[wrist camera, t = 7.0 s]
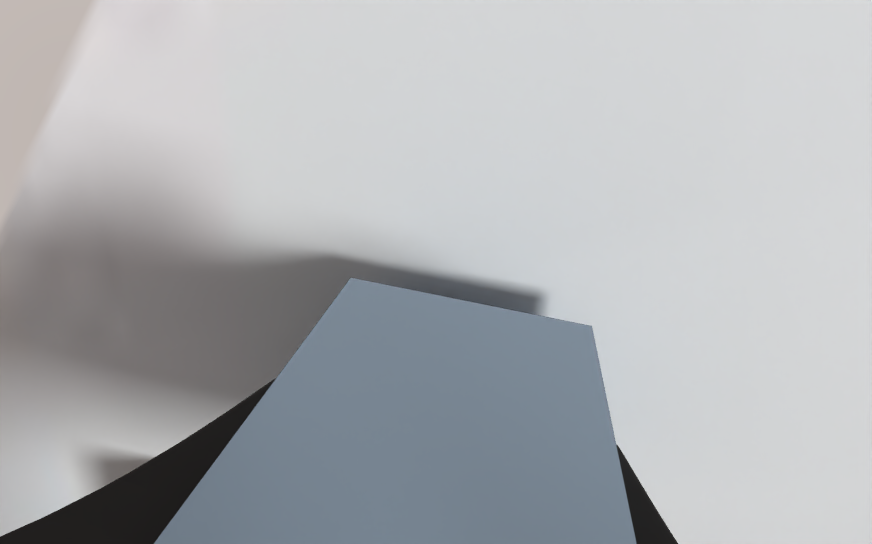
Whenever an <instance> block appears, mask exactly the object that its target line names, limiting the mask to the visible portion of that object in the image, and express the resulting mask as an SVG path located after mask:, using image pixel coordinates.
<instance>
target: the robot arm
mask: <svg viewBox="0 0 872 544" xmlns="http://www.w3.org/2000/svg"><path fill="white" fill-rule="evenodd" d="M274 381H275V379H274V380H273V381H271V382H270V383H268V384H267V385H265V386H264V387H262V388H261V389H259V390H258V391H256V392H255V393H254V394H252V395H251V396H249V397H248V398H246V399H245V400H243V401H242V402H241V403H239V404H238V405H236V406H235V407H233V408H232V409H230V410H229V411H227V412H226V413H224V414H223V415H221V416H220V417H218V418H217V419H215V420H214V421H212V422H211V423H209V424H208V425H206V426H205V427H203V428H201V429H200V430H198V431H197V432H195V433H194V434H192V435H191V436H189V437H188V438H186V439H185V440H183V441H181V442H180V443H178V444H177V445H175V446H173V447H172V448H170V449H168V450H167V451H165V452H163V453H162V454H160V455H158V456H157V457H155V458H153V459H152V460H150V461H148V462H146V463H145V464H143V465H141V466H140V467H138V468H136V469H135V470H133V471H131V472H130V473H128V474H126V475H124V476H122V477H121V478H119V479H117V480H115V481H114V482H112V483H110V484H108V485H106V486H104V487H103V488H101V489H99V490H97V491H95V492H93V493H91V494H89V495H87V496H85V497H83V498H81V499H79V500H77V501H75V502H73V503H71V504H69V505H67V506H65V507H64V508H62V509H60V510H58V511H55V512H53V513H51V514H49V515H47V516H45V517H43V518H41V519H39V520H37V521H34V522H32V523H30V524H28V525H25V526H23V527H21V528H19V529H16V530H14V531H12V532H10V533H8V534H5V535H3V536H1V537H0V544H154V543H155V542H156V540H157V539H158V537H159V536H160V535H161V533H162V532H163V531H164V529H165V528H166V527H167V525H168V524H169V523H170V521H171V520H172V519H173V517H174V516H175V515H176V513H177V512H178V510H179V509H180V508H181V506H182V505H183V504H184V502H185V501H186V500H187V498H188V497H189V496H190V494H191V493H192V492H193V490H194V489H195V487H196V486H197V485H198V483H199V482H200V481H201V479H202V478H203V477H204V475H205V474H206V473H207V471H208V470H209V469H210V467H211V466H212V465H213V463H214V462H215V460H216V459H217V458H218V456H219V455H220V454H221V452H222V451H223V450H224V448H225V447H226V446H227V444H228V443H229V442H230V440H231V439H232V438H233V436H234V435H235V433H236V432H237V431H238V429H239V428H240V427H241V425H242V424H243V423H244V421H245V420H246V419H247V417H248V416H249V415H250V413H251V412H252V411H253V409H254V408H255V406H256V405H257V404H258V402H259V401H260V400H261V398H262V397H263V396H264V394H265V393H266V392H267V390H268V389H269V388H270V386H271V385H272V383H273V382H274ZM616 446H617V451H618V456H619V461H620V466H621V471H622V475H623V480H624V485H625V490H626V495H627V500H628V505H629V510H630V514H631V519H632V524H633V529H634V534H635V539H636V544H678V543H677V541H676V540H675V538H674V537H673V535H672V533H671V532H670V530H669V529H668V527H667V526H666V524H665V522H664V521H663V519H662V518H661V516H660V514H659V513H658V511H657V510H656V508H655V506H654V505H653V503H652V501H651V500H650V498H649V496H648V495H647V493H646V492H645V490H644V488H643V487H642V485H641V483H640V481H639V480H638V478H637V476H636V475H635V473H634V471H633V470H632V468H631V466H630V465H629V463H628V461H627V460H626V458H625V456H624V455H623V453H622V451H621V450H620V448H619V447H618V445H616Z"/></svg>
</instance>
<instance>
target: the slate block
mask: <svg viewBox="0 0 872 544" xmlns="http://www.w3.org/2000/svg"><path fill="white" fill-rule="evenodd" d="M154 544H636V539H635V534H634V529H633V524H632V519H631V514H630V510H629V505H628V500H627V495H626V490H625V485H624V480H623V475H622V471H621V466H620V461H619V456H618V451H617V446H616V441H615V437H614V432H613V427H612V422H611V417H610V412H609V407H608V403H607V398H606V393H605V388H604V383H603V378H602V373H601V368H600V364H599V359H598V354H597V349H596V344H595V339H594V334H593V330H592V326H589V325H584V324H579V323H574V322H569V321H564V320H559V319H554V318H549V317H544V316H539V315H534V314H529V313H524V312H519V311H514V310H509V309H504V308H499V307H494V306H489V305H484V304H479V303H474V302H469V301H464V300H459V299H454V298H449V297H445V296H440V295H435V294H430V293H425V292H420V291H415V290H410V289H405V288H400V287H395V286H390V285H385V284H380V283H375V282H370V281H365V280H360V279H355V278H350V279H349V281H348V282H347V284H346V285H345V286H344V288H343V289H342V290H341V292H340V293H339V294H338V296H337V297H336V298H335V300H334V301H333V302H332V304H331V305H330V306H329V308H328V309H327V311H326V312H325V313H324V315H323V316H322V317H321V319H320V320H319V321H318V323H317V324H316V325H315V327H314V328H313V329H312V331H311V332H310V334H309V335H308V336H307V338H306V339H305V340H304V342H303V343H302V344H301V346H300V347H299V348H298V350H297V351H296V352H295V354H294V355H293V356H292V358H291V359H290V361H289V362H288V363H287V365H286V366H285V367H284V369H283V370H282V371H281V373H280V374H279V375H278V377H277V378H276V379H275V381H274V382H273V383H272V385H271V386H270V388H269V389H268V390H267V392H266V393H265V394H264V396H263V397H262V398H261V400H260V401H259V402H258V404H257V405H256V406H255V408H254V409H253V411H252V412H251V413H250V415H249V416H248V417H247V419H246V420H245V421H244V423H243V424H242V425H241V427H240V428H239V429H238V431H237V432H236V433H235V435H234V436H233V438H232V439H231V440H230V442H229V443H228V444H227V446H226V447H225V448H224V450H223V451H222V452H221V454H220V455H219V456H218V458H217V459H216V460H215V462H214V463H213V465H212V466H211V467H210V469H209V470H208V471H207V473H206V474H205V475H204V477H203V478H202V479H201V481H200V482H199V483H198V485H197V486H196V487H195V489H194V490H193V492H192V493H191V494H190V496H189V497H188V498H187V500H186V501H185V502H184V504H183V505H182V506H181V508H180V509H179V510H178V512H177V513H176V515H175V516H174V517H173V519H172V520H171V521H170V523H169V524H168V525H167V527H166V528H165V529H164V531H163V532H162V533H161V535H160V536H159V537H158V539H157V540H156V542H155V543H154Z"/></svg>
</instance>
